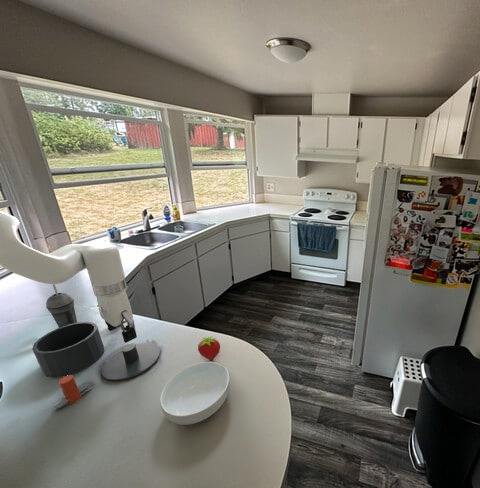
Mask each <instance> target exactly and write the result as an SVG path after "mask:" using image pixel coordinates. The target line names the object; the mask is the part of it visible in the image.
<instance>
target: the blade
mask: <svg viewBox="0 0 480 488" xmlns="http://www.w3.org/2000/svg"><path fill="white" fill-rule="evenodd" d="M58 384H59V387H60V389H61V392H62V394H63V396H64V398H63V399H61V400H60V401H59V402H58V403H56V404H55V405H54V406H53V409H54V410H55V411H57V410H59V409H61V408H62V407H64V406H66V405H72V404H75V403H77V402H78V401H80V400H81V398H82V396H83V395H85V394H86V393H87V392H89V391H91V390H92V389H93V388H92V386H91V385H90V384H88V383H83V384H82V385H81V386H79V387H78V384H77V382H76V379H75V378H74V375H73V374H72V375H68V376H65V377H61V378H60V379H59V380H58Z"/></svg>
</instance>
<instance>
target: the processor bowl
mask: <svg viewBox="0 0 480 488" xmlns="http://www.w3.org/2000/svg"><path fill="white" fill-rule="evenodd" d="M31 350H32V352H33V354H34V356H35V358H36V361H37V363H38V366H39V367H40V369H41V372H42V373H43V375H44V377H47V378H50V379H58V378H59V379H60V378H63V376H67V375H72V376H73V375H74V374H77V373H79V372H82V371H83V370H85V369H87V368H89V367H91V366H92V365H93V364H95V363H96V362H97V361H99V359H101V357H102V356H103V355H104V352H105V345H104V342H103V340H102V336H101V334H100V329H99V327H98V325H97V324H96V323H95V322H92V321H79V322H78V321H77V323H74V324H69V325H66V326H63V327H60V328H59V327H58V328H56V329H53V330H51V331H49V332H47V333H46V334H44V335H42V336H41V337H39V338H38V339H37V340H36V341H35V342H34V343H33V345H32V348H31Z"/></svg>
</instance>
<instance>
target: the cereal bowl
mask: <svg viewBox="0 0 480 488" xmlns="http://www.w3.org/2000/svg"><path fill="white" fill-rule="evenodd" d="M230 386H231V377H230V372H229V370H228V368H227V367H226V366H224V364H222V363H219V362H215V361H203V362H197V363H194V364H191V365H188V366H186V367H185V368H183V369H181V370H180V371H178V372H177V373H175V375H173V376H172V377H171V378H170V379H168V381H167V383H166V384H165V386H164V387H163V389H162V391H161V394H160V398H159V399H160V400H159V404H160V408H161V411H162V413H163V415H164V417H166V418H167V420H168V421H170V422H172V423H173V424H176V425H182V426H187V425H194V424H197V423H200V422H203V421H205V420H206V419H208V418H210V417H211V416H212V415H213V414H215V413H216V412H217V411H218V410H219V409H220V408H221V407H222V405H224V402H225V401H226V399H227V397H228V395H229V392H230Z"/></svg>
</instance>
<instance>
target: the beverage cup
mask: <svg viewBox="0 0 480 488" xmlns="http://www.w3.org/2000/svg"><path fill="white" fill-rule="evenodd" d="M52 287H53V290H54V292H55V293H54V294H52V295H50V296H49V297H48V298H47V300H46V303H45V306H46V309H47V310H48V312H49V313H50V314H51V316H52V318H53V320H54V321H55V323H56V325H57V327H58V328H60V327H63V326H66V325H69V324H74V323H78V319H77V314H76V310H75V302H74V301H75V299H74V298H73V296H72V295H71V294H68V293H67V292H58V290H57V287H56V284H52Z"/></svg>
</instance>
